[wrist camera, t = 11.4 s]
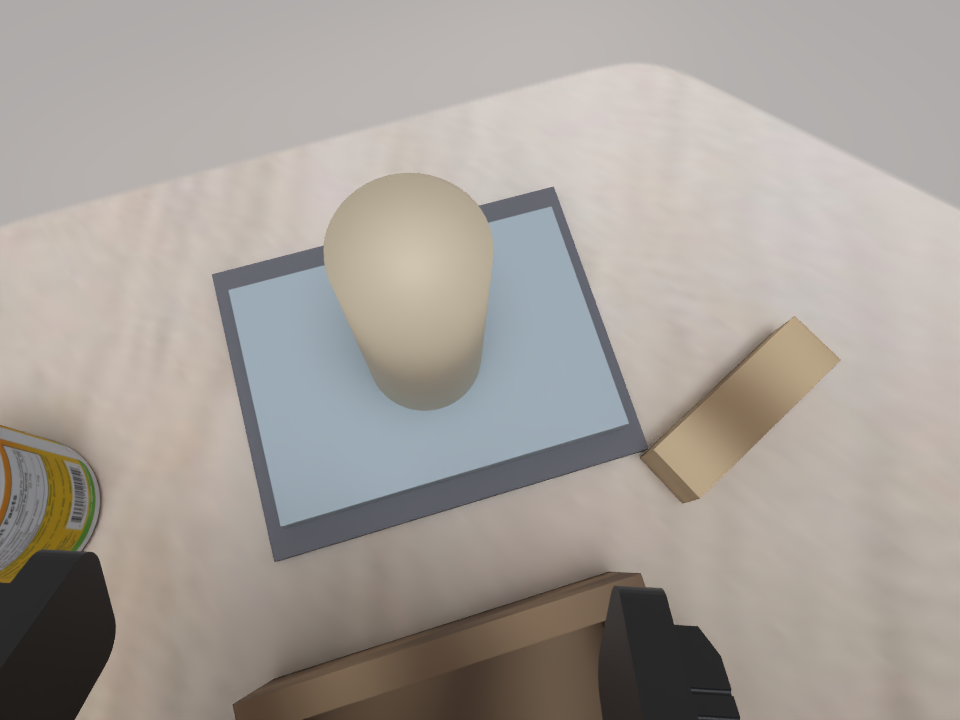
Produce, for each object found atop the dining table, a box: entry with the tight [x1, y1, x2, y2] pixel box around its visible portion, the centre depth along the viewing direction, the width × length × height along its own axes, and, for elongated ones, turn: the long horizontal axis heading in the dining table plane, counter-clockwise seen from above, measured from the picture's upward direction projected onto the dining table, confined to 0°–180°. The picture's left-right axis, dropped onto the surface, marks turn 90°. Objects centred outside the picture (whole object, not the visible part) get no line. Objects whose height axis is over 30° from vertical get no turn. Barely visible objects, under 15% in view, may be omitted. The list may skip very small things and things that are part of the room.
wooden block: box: [640, 316, 840, 503], centre depth 29 cm, size 8×2×2 cm, turn 132°
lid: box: [228, 173, 629, 528], centre depth 24 cm, size 14×10×11 cm
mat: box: [212, 187, 648, 562], centre depth 30 cm, size 15×12×1 cm
